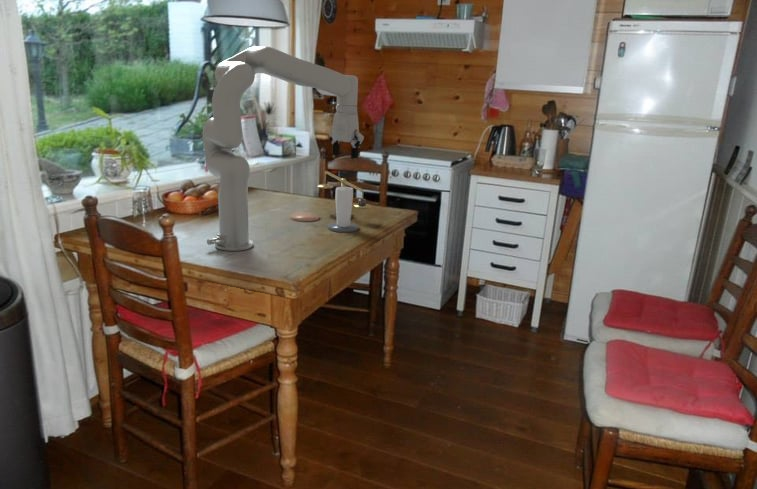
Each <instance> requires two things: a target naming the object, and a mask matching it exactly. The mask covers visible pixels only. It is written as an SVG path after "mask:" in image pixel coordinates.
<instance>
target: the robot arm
mask: <svg viewBox="0 0 757 489" xmlns="http://www.w3.org/2000/svg"><path fill="white" fill-rule="evenodd" d="M256 74H265V75H267V76H270V77H273V78H276V79H279V80H282V81H285V82H287V83H290V84H292V85H296V86H301V87H307V88H314V89H316V91H317V92H318V93H319V94H321V95H324V96H331V97H332V96H333V97H336V105H335V109H336V112H334V115H333V120H332V126H331V127H332V129H331V130H329V131H328V135H329V140H330V142H331V145H332V152H331V153H332V154H331V155H332V156H338V155H340V149H341V147H340V146H341V144H340V142H344V143H350V144H351V146H352V147H351V148H350V150H351V151H350V158H351V159H358V158H359V148H361V145H362V144H363V141H364V138H365V136H364V135H363V134H362V133H361V132H360V129H359V127H360V125H359V123H360V122H359V116H358V115H359V114H358V96H359V95H358V94H359V93H358V92H359V90H358V89H359V79H358V76H356V75H351V74H343V73H341V72H338V71H336V70H333V69H331V68H328V67H325V66H323V65H319V64H316V63H313V62H312V61H311V62H310V61H307V60H304V59H301V58H299V57H296V56H293V55H291V54H288V53H286V52H283V51H281V50H279V49H276V48H274V47H271V46H267V45H266V46H265V45H264V46H263V45H261V46H251V47H248V48H247V49H245V50H242V51H241V52H239V53H237V54H235V55H233V56H232V57H231V56H230V57H229V58H227V59H225V60H223V61H222V62H220V63H219V64H218V65H217V67H216V69H215V70H214V77H215V82H217V83H216V85H215V87H214V88H213V94H212V98H211V106H212V107H211V108H212V117H210V118H208V119H207V120H206V122H204V124H203V129H202V142H203V143H202V144H203V150H204V158H205V159H204V160H205V164H206V167H207V170H208V171H209V173H210V174H211V175H212V176H215V177H216V178H218V179H219V180H220V181H219V185H218V191H217V194H218V195H217V198H218V199H217V200H218V219H219V220H218V224H219V227H218V228H219V233H216V236H214V237H212V238H208V239H207V240H206V244H207V245H208V246H210V245H215V248H216V249H218V250H221V251H224V252H225V251H226V252H239V251H241V252H242V251H246V250H249V249H251V248H252V247H254V241H253V240H252V239H250V238H249V237H250V236H249V235H250V234H249V231H250V230H249V197H248V196H249V194H248V193H249V192H248V191H249V190H248V189H249V180H250V175H251V174H250V173H251V171H250V170H251V169H250V168H251V167H250V164H249V162H248V160H247V159H246V158H245V157H244V156H243V155H241V154H239V153H236V152H233V150H234V149H237V148H238V147H240V146H241V144H242V143H243V139H244V138H243V137H244V136H243V127H242V126H243V124H242V117H241V116H242V115H241V101H242V98H243V95H244V93H245V92H246V91H247V90H248V89H249V88H251V86H253V84H254V81H255V78H256Z"/></svg>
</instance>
